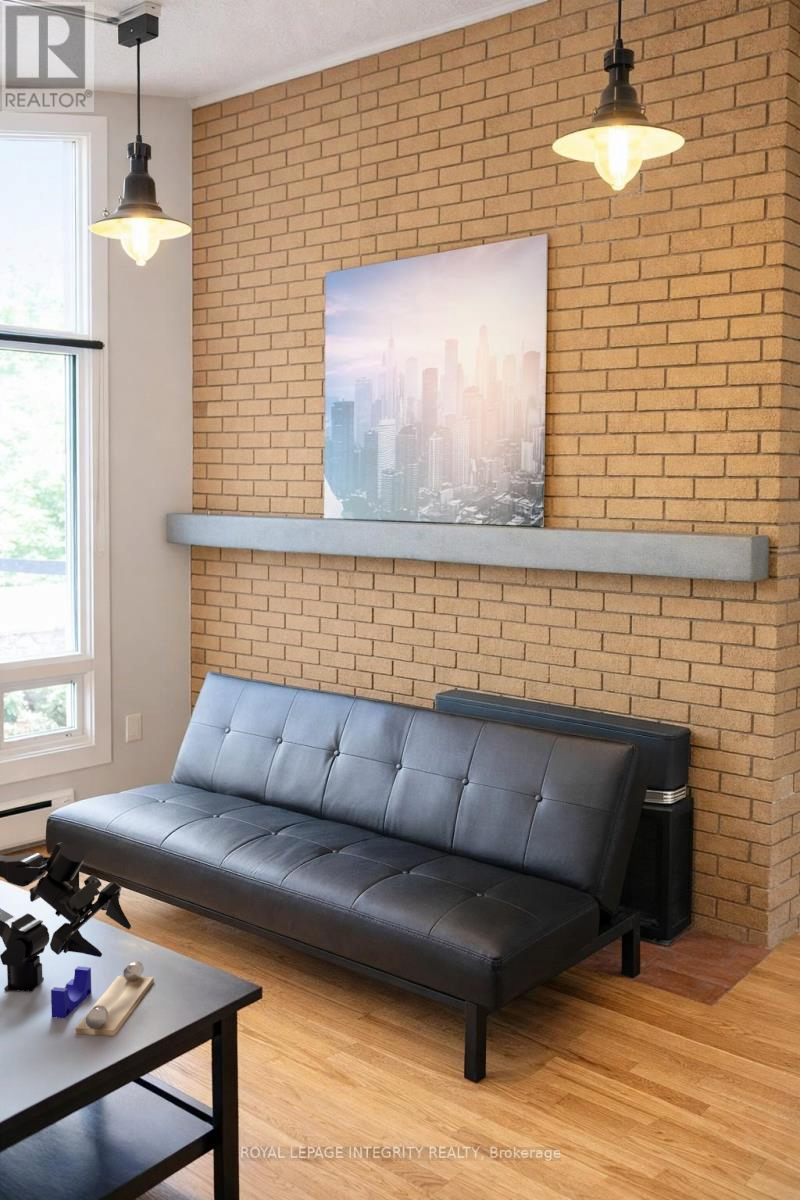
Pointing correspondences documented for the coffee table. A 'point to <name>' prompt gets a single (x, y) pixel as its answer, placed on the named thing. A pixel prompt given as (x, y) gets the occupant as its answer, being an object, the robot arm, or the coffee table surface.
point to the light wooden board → (117, 1004)
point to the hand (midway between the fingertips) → (116, 941)
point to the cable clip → (71, 993)
